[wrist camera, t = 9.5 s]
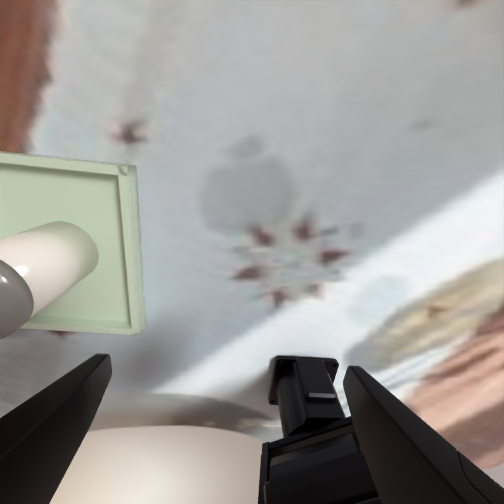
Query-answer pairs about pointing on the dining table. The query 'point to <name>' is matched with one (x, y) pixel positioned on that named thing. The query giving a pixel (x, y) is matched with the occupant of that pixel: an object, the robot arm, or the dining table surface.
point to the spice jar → (41, 269)
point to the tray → (90, 220)
